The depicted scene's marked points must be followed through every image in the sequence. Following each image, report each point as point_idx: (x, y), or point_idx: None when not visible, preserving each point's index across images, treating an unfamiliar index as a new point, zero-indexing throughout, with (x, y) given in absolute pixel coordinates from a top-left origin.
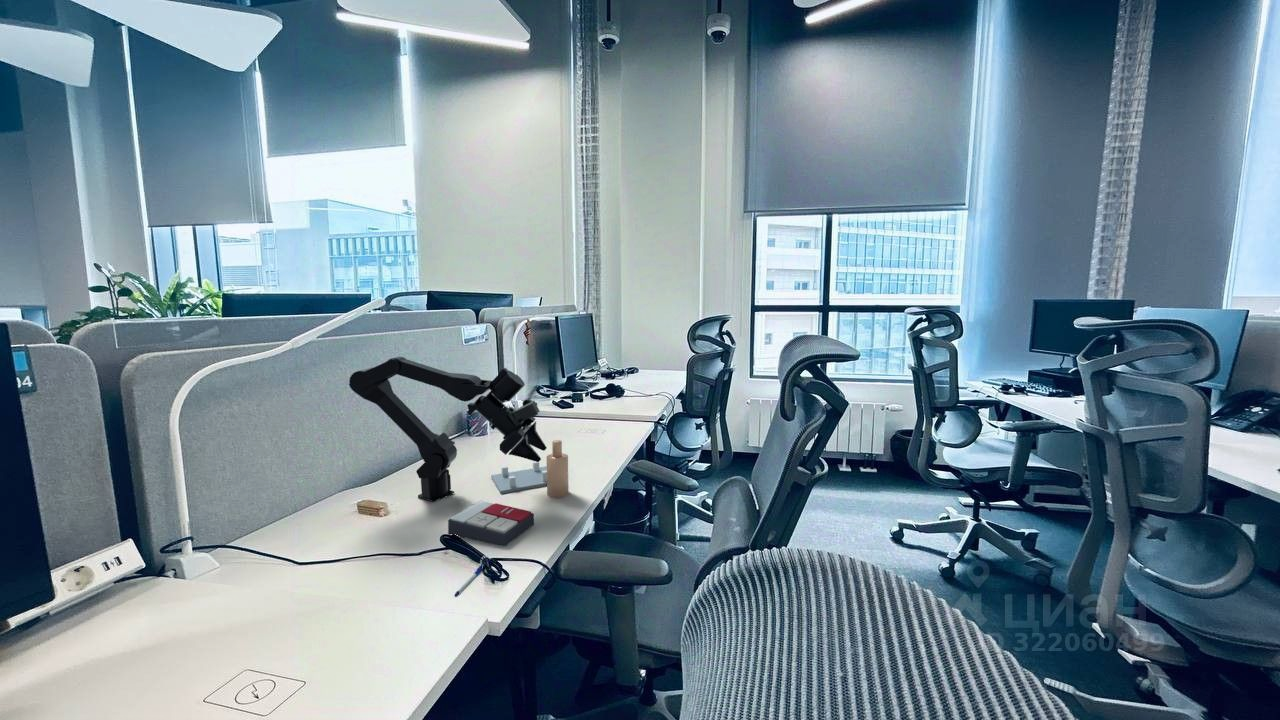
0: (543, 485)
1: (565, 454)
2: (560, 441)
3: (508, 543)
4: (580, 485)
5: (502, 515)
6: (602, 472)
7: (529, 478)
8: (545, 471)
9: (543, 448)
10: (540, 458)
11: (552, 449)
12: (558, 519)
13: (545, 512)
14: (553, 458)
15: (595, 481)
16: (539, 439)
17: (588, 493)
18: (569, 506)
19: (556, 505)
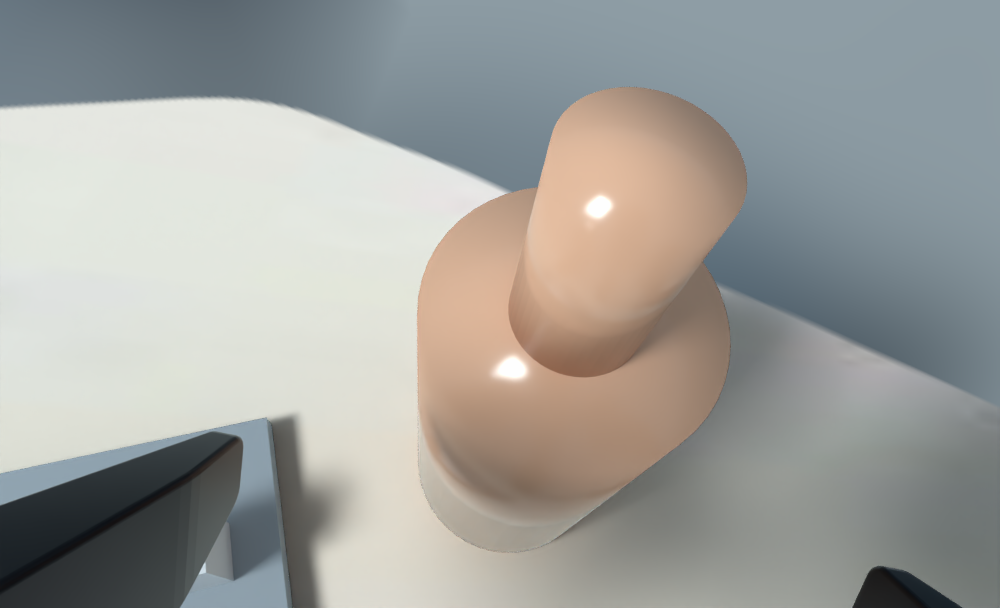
0: (289, 581)
1: (507, 206)
2: (664, 107)
3: None
4: (380, 276)
5: None
6: (169, 102)
7: None
8: None
9: (224, 496)
10: (911, 575)
11: (627, 324)
12: (966, 489)
13: (862, 582)
14: (662, 370)
15: (335, 173)
16: (83, 554)
17: None
18: (758, 396)
19: (737, 487)
